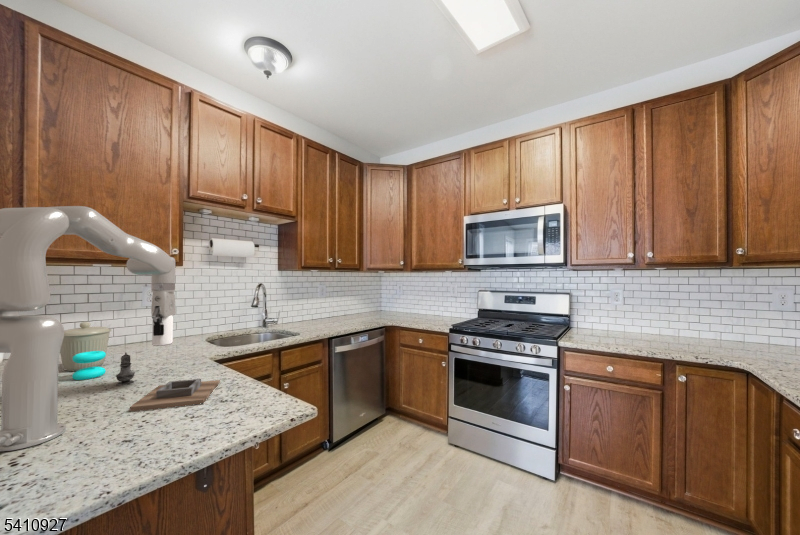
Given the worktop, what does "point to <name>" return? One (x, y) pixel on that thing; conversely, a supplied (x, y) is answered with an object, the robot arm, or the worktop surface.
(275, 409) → the worktop surface
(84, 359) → the donuts
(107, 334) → the canister
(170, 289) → the robot arm
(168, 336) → the can
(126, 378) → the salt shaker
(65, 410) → the worktop surface
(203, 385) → the socket board
